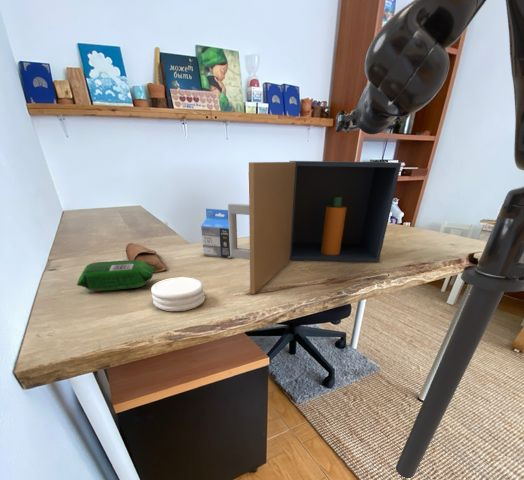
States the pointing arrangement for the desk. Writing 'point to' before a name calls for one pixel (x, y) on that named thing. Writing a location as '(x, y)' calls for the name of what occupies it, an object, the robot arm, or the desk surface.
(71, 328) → the desk surface
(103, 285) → the snack package
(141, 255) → the sunglasses case
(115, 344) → the desk surface
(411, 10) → the robot arm
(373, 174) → the box
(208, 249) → the tape cartridge
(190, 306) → the coaster
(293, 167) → the fridge door
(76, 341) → the desk surface
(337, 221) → the juice bottle
